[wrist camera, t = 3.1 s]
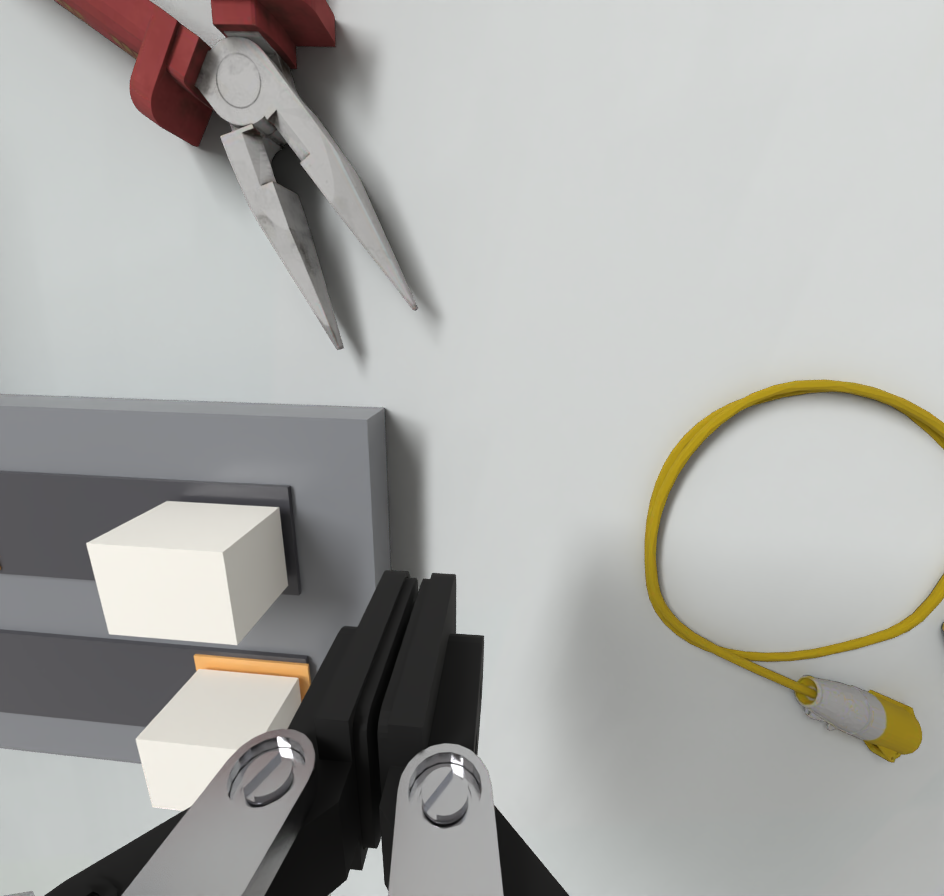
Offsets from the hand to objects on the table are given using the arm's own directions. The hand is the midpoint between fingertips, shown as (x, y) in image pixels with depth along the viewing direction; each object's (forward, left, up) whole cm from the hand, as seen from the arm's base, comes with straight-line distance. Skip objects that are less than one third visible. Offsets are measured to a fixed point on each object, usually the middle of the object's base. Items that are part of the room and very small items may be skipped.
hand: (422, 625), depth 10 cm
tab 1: (+8, +1, -4) cm, 9 cm away
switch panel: (+14, +4, -7) cm, 16 cm away
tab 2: (+8, +8, -4) cm, 12 cm away
